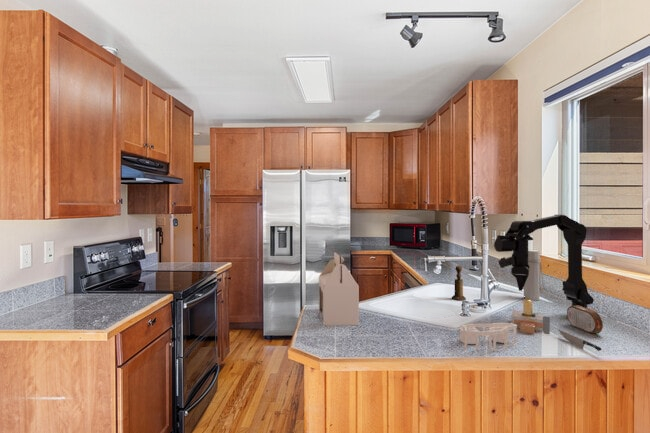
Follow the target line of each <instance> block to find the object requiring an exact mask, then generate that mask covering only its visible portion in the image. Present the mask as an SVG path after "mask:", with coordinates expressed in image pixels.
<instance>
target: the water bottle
mask: <svg viewBox="0 0 650 433" xmlns="http://www.w3.org/2000/svg"><path fill="white" fill-rule="evenodd" d="M528 253H529V256H528V263H529V264H530V269H529V276H528V278H527V280H526V282H525V285H524V287H523V297H524V296H525V298H526V299H528V300H534V301H535V302H536V301H537V300H538V301H539V300H540V291H544V279H543V278H544V276H543V270H542V263H543V262H542V260H541V257H540V256H541V255H540V254H541V253H540V250H534V249H533V250H532V249H528ZM541 282H542V288H541ZM534 301H533V302H534Z"/></svg>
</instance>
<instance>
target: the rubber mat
mask: <svg viewBox="0 0 650 433" xmlns="http://www.w3.org/2000/svg"><path fill="white" fill-rule="evenodd" d="M550 320H551V319H550V316H544V315H543V334H546V335H550V334H551V330H550V327H551V326H550V324H551V321H550Z"/></svg>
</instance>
